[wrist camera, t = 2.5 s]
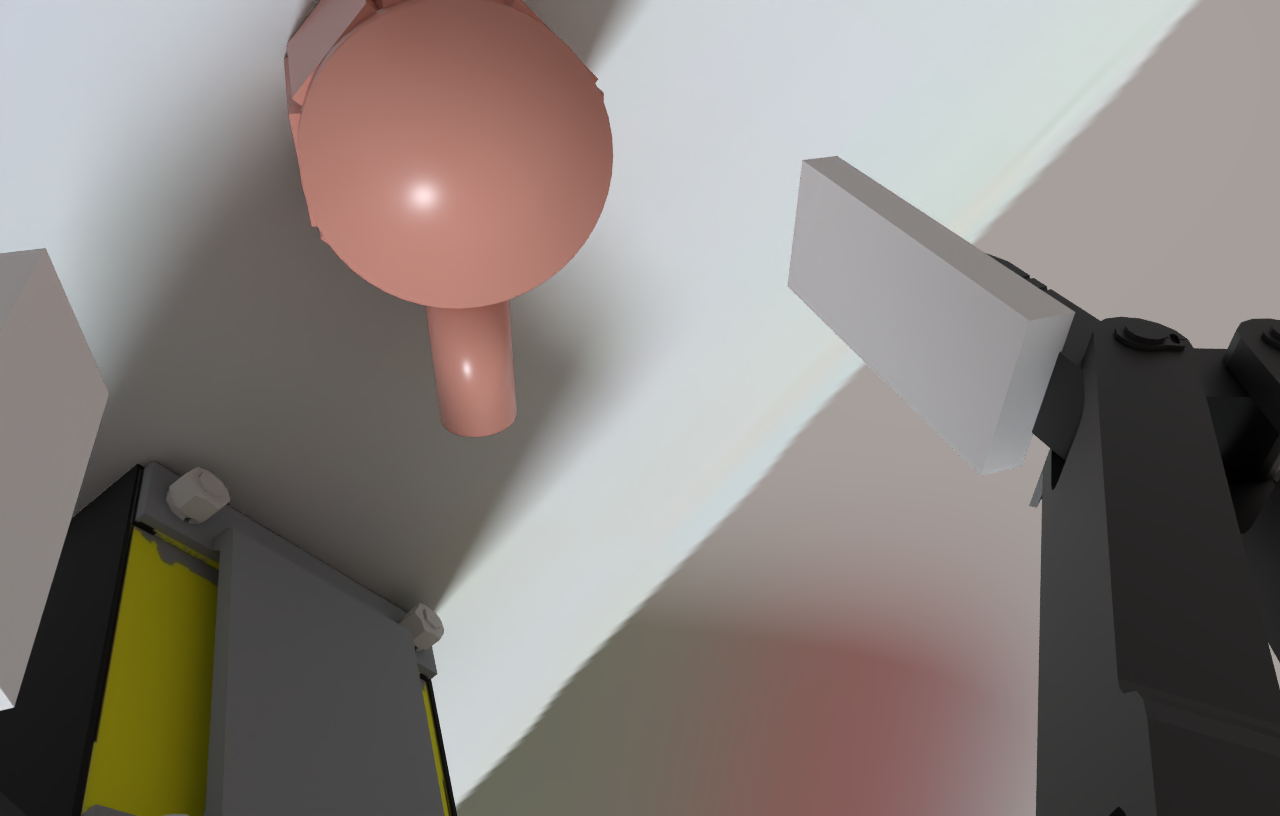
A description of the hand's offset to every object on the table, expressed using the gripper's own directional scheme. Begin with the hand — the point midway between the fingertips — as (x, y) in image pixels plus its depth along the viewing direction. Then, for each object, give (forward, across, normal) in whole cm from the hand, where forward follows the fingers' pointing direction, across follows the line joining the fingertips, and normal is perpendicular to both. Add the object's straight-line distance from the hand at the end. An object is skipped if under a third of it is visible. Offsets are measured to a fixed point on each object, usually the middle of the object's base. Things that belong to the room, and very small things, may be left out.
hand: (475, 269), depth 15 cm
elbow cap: (+19, -1, +5) cm, 20 cm away
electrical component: (+19, +10, +25) cm, 33 cm away
